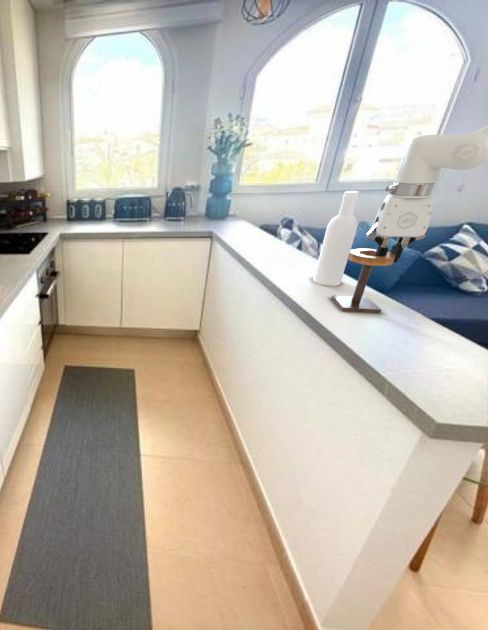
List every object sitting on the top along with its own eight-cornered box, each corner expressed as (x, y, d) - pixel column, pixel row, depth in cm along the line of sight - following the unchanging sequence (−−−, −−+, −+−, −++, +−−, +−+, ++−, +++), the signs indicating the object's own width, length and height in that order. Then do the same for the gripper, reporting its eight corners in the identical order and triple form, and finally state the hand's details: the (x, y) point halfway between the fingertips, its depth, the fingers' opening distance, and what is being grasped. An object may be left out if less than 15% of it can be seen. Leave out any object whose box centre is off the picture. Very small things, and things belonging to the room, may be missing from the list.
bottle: (346, 286, 115) (375, 192, 102) (322, 287, 115) (348, 193, 102) (330, 277, 122) (355, 189, 109) (307, 279, 122) (330, 190, 109)
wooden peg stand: (365, 301, 104) (380, 258, 98) (379, 314, 96) (397, 268, 90) (330, 299, 107) (343, 257, 101) (342, 312, 99) (356, 267, 93)
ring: (382, 255, 98) (384, 248, 97) (400, 266, 90) (403, 259, 89) (342, 254, 101) (344, 248, 100) (356, 265, 92) (359, 258, 92)
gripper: (379, 193, 85) (356, 264, 93) (462, 191, 80) (430, 266, 89) (366, 189, 91) (345, 256, 100) (442, 187, 87) (414, 257, 95)
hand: (386, 260), depth 94 cm, fingers closed on ring, 2 cm apart
